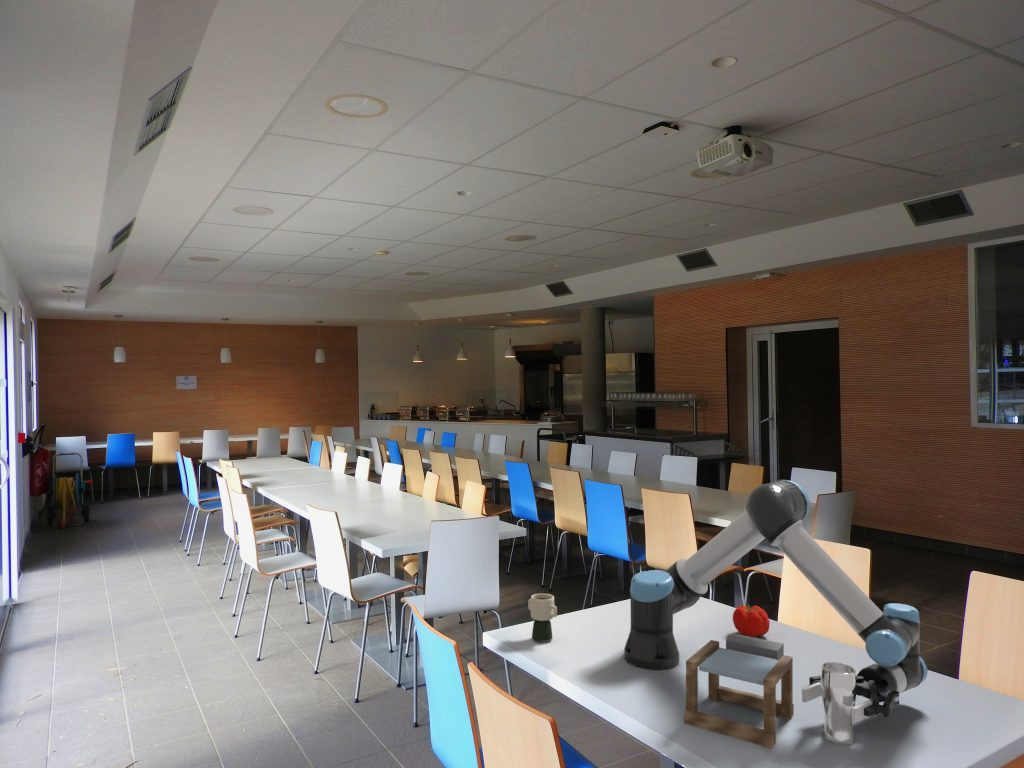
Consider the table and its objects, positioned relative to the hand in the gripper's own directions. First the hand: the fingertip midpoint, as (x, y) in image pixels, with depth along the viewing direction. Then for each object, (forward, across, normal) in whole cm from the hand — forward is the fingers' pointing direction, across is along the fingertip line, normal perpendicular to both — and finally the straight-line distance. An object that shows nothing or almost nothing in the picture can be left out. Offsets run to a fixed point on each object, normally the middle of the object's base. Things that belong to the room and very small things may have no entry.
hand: (827, 705), depth 146 cm
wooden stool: (+6, +18, -8) cm, 20 cm away
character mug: (+12, +84, -8) cm, 85 cm away
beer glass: (-4, 0, -8) cm, 9 cm away
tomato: (-45, +51, -8) cm, 68 cm away
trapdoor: (+2, +19, +2) cm, 19 cm away
